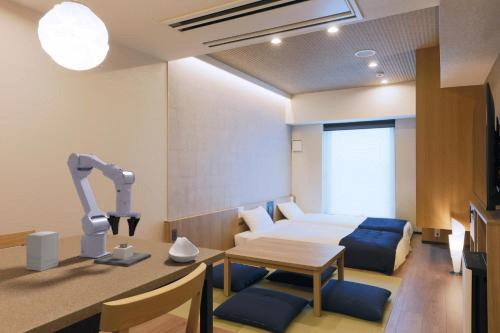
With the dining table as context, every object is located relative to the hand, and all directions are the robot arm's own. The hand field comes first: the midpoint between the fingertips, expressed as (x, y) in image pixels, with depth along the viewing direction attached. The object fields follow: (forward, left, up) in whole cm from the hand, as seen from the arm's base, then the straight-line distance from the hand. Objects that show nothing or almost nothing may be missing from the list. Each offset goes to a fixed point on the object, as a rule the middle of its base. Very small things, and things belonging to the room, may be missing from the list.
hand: (123, 235), depth 132 cm
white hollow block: (0, 0, -9) cm, 9 cm away
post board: (0, 0, -10) cm, 10 cm away
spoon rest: (+20, +11, -10) cm, 25 cm away
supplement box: (-21, -18, -10) cm, 29 cm away
